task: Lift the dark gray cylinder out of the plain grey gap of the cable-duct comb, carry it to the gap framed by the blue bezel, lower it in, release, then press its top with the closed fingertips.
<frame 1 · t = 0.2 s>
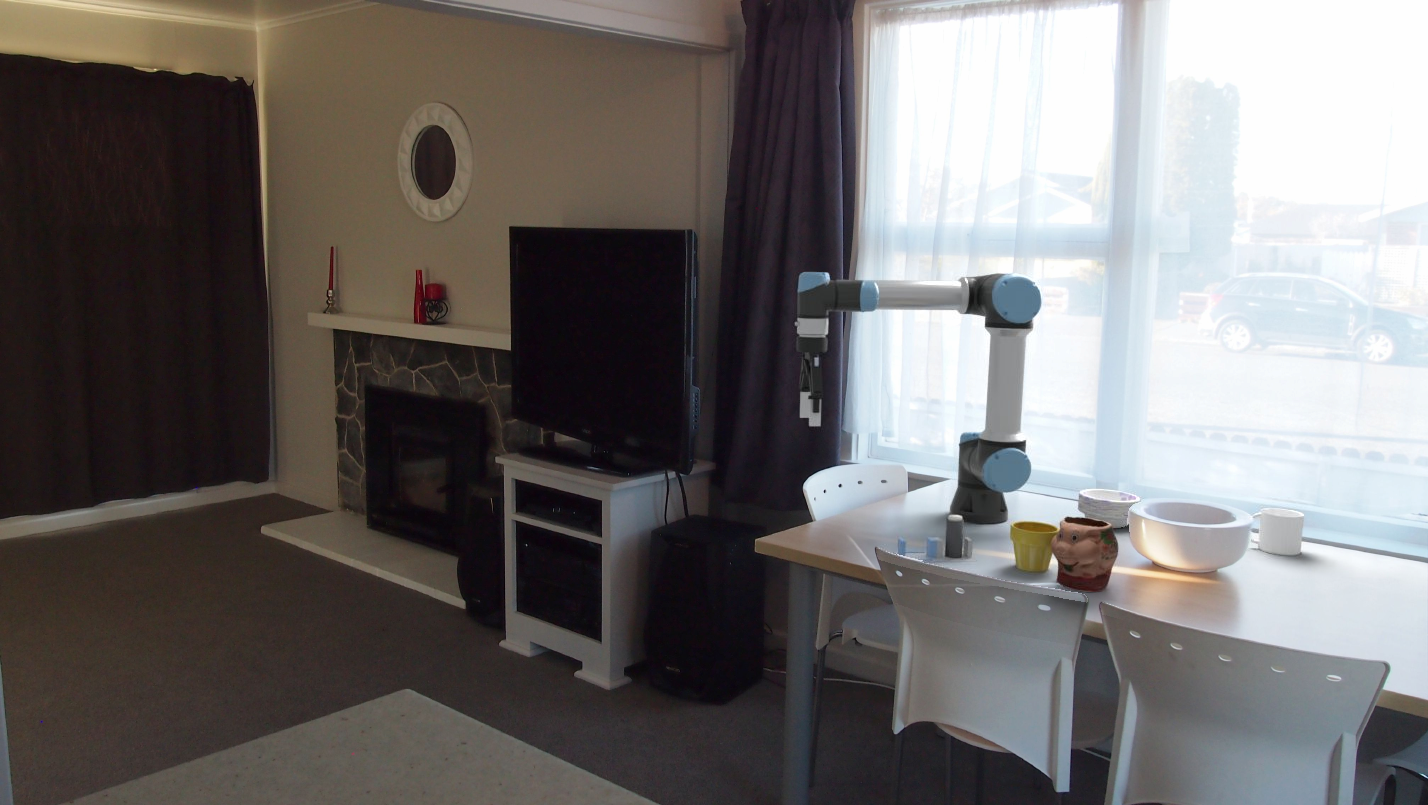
hand: (809, 421, 251), 28 cm above the table, fingers open, 13 cm apart
dark gray cylinder: (953, 556, 233), resting on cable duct
decorative planter: (1084, 585, 216), on the table
mug: (1271, 550, 245), on the table
paper bowls: (1107, 524, 267), on the table
plant pot: (1032, 570, 226), on the table
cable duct: (934, 558, 233), on the table
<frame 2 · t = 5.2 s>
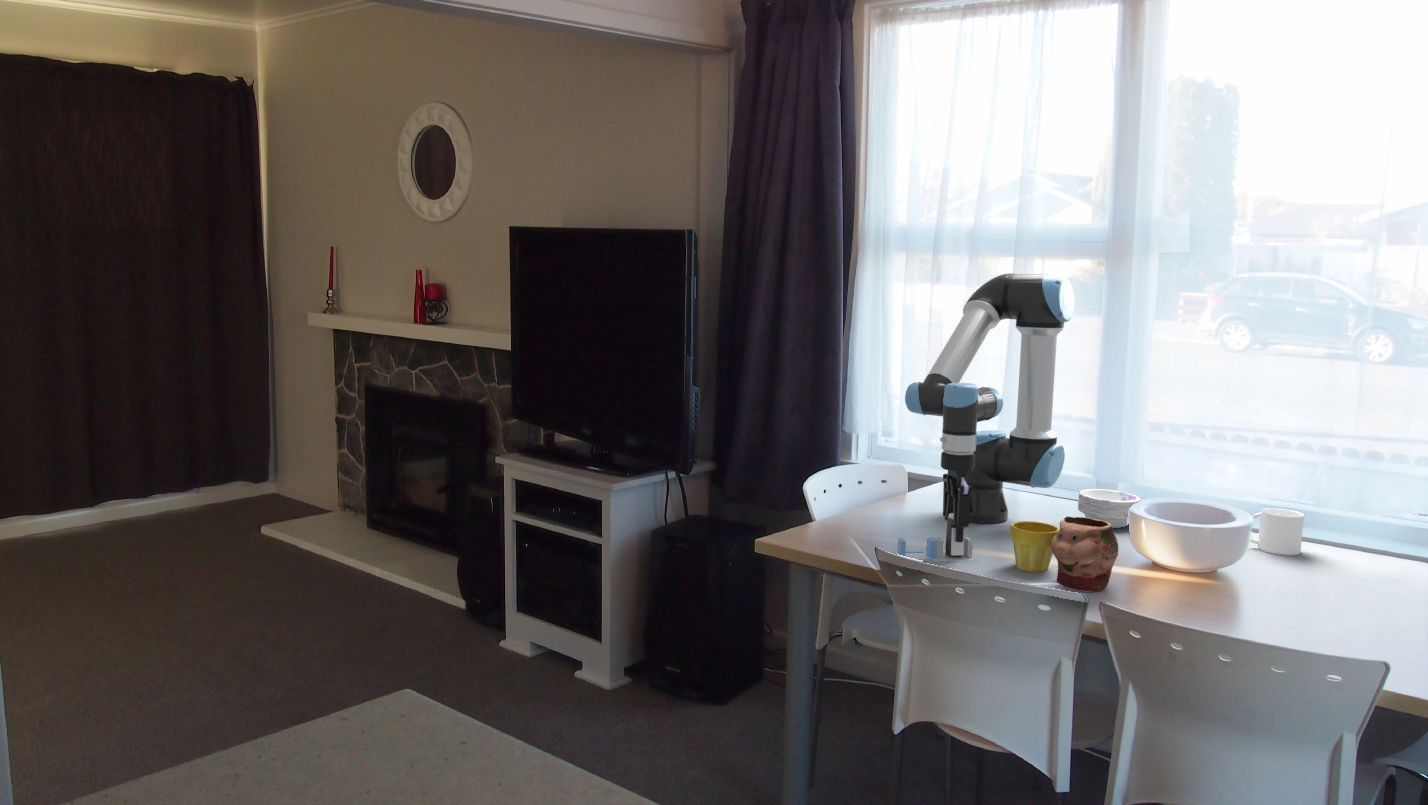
hand: (953, 551, 233), 1 cm above the table, fingers closed on dark gray cylinder, 4 cm apart
dark gray cylinder: (953, 554, 234), point 1 cm above the table, touching gripper
everything else where it was.
when the fingers open (2 cm above the table, at t = 9.9 s): dark gray cylinder stays where it is, resting on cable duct.
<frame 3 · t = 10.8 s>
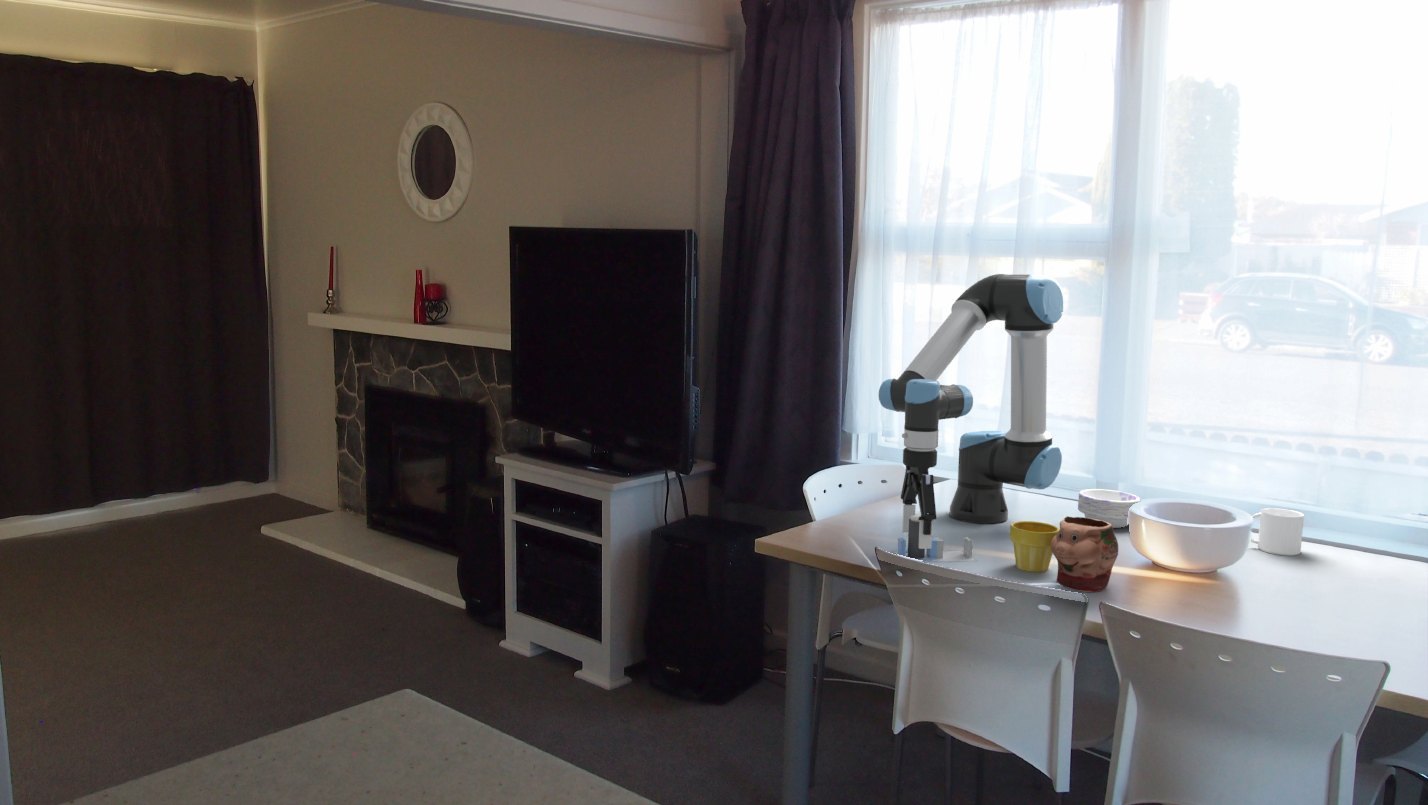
hand: (916, 540, 232), 4 cm above the table, fingers open, 13 cm apart
dark gray cylinder: (916, 556, 233), resting on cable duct
everything else where it was.
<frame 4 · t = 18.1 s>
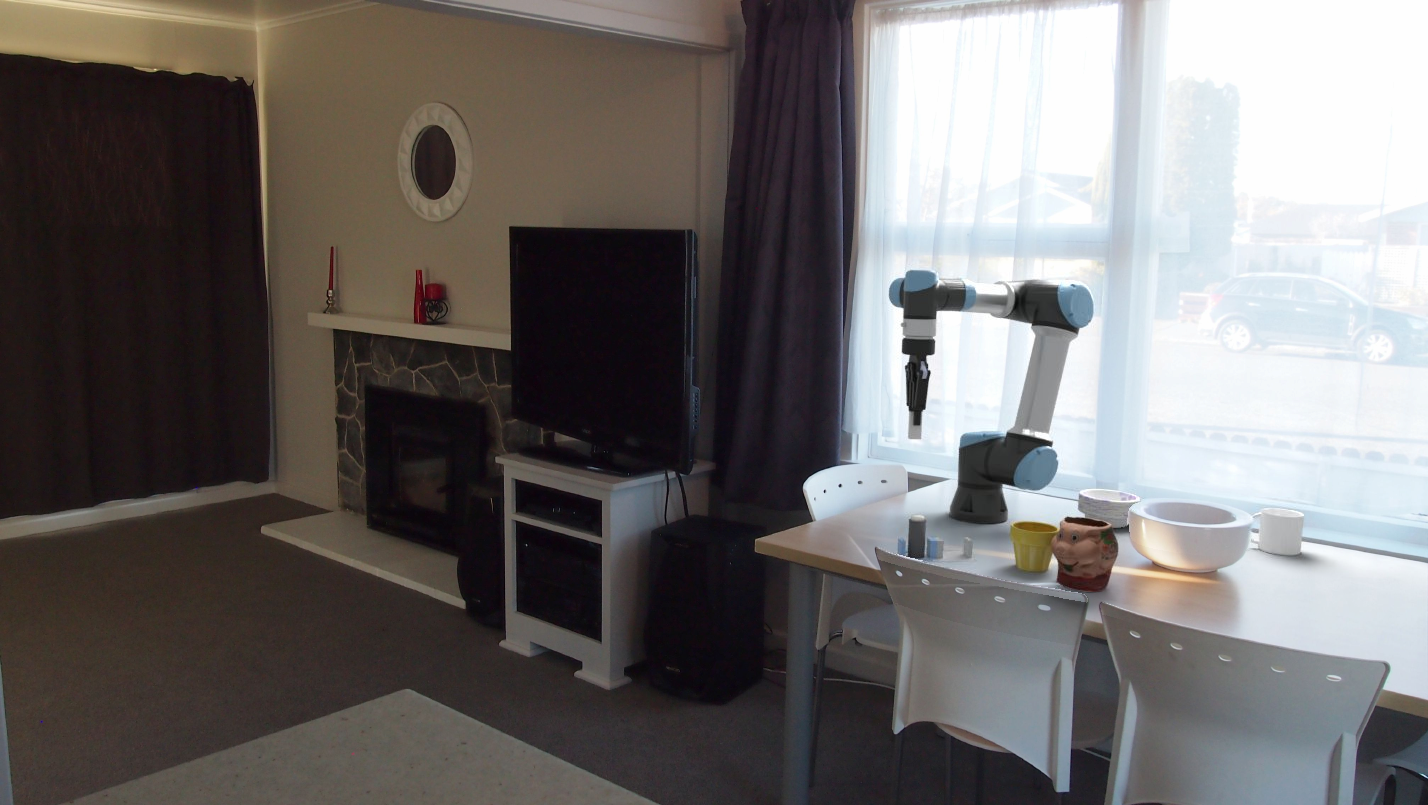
hand: (914, 438, 237), 26 cm above the table, fingers closed
nothing on the table moved.
at the end: dark gray cylinder 0.1 cm from the target spot on the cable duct, point 0.5 cm above the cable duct's base; dark gray cylinder tilted 0°; the gripper is holding nothing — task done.
